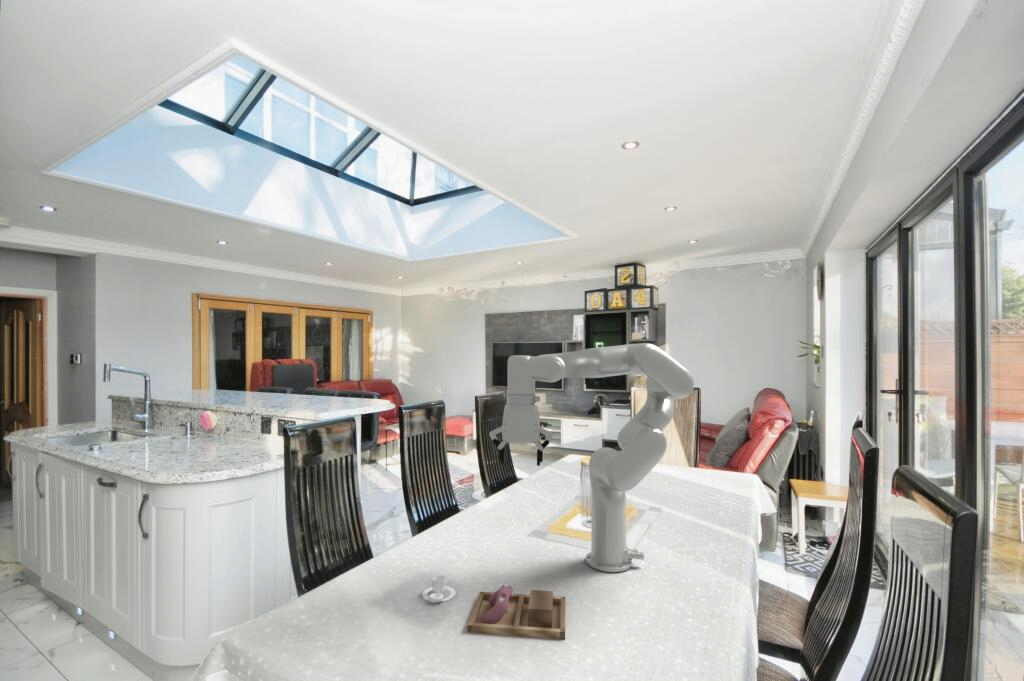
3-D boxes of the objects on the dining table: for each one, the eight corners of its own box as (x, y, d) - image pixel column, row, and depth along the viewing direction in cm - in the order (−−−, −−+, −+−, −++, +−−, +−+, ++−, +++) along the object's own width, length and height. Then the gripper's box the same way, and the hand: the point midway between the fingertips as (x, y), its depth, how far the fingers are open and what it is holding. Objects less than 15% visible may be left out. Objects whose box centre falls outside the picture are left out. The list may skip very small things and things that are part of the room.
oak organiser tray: (565, 604, 108) (565, 596, 108) (565, 641, 94) (565, 632, 94) (479, 599, 110) (480, 591, 110) (467, 633, 96) (467, 625, 96)
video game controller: (497, 635, 98) (512, 606, 97) (478, 624, 98) (493, 595, 98) (504, 610, 107) (518, 583, 107) (487, 600, 108) (501, 573, 108)
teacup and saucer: (438, 609, 107) (438, 591, 107) (412, 599, 111) (413, 582, 111) (462, 593, 114) (462, 576, 114) (437, 584, 118) (437, 568, 118)
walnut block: (552, 609, 105) (553, 591, 105) (551, 629, 97) (551, 610, 98) (530, 607, 106) (530, 589, 106) (527, 627, 98) (528, 608, 98)
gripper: (553, 400, 130) (553, 462, 129) (491, 399, 132) (491, 460, 131) (552, 402, 122) (552, 468, 122) (487, 401, 124) (486, 466, 124)
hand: (520, 464), depth 126 cm, fingers open, 9 cm apart
